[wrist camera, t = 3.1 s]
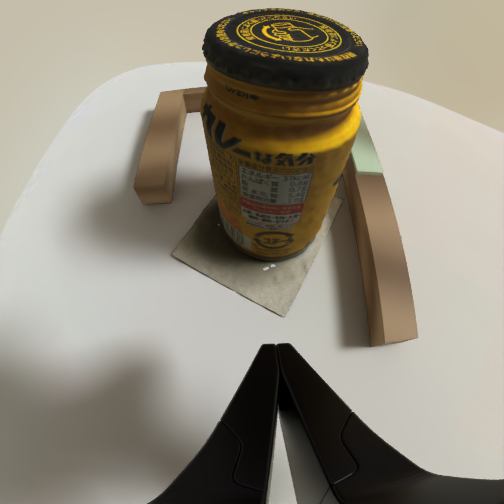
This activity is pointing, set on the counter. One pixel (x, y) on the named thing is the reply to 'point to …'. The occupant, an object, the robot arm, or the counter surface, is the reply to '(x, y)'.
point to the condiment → (274, 147)
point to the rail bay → (360, 200)
